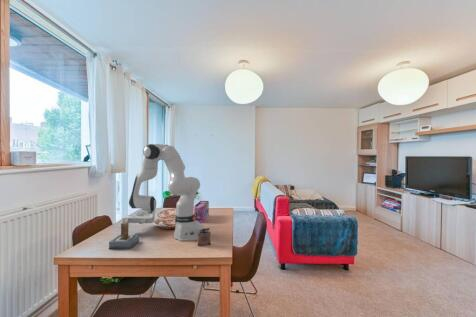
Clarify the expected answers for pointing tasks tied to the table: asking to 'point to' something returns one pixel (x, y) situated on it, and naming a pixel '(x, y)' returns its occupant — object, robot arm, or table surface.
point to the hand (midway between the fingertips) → (133, 222)
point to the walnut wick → (124, 231)
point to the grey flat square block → (124, 242)
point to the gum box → (201, 211)
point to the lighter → (204, 237)
